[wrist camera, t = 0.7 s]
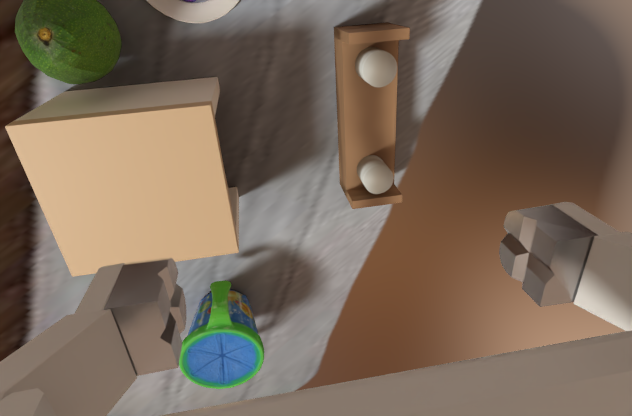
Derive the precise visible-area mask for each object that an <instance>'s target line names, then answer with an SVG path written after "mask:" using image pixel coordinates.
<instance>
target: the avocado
mask: <svg viewBox="0 0 632 416" xmlns="http://www.w3.org/2000/svg"><path fill="white" fill-rule="evenodd" d="M15 33H16V36H17V39H18V41H19V44H20V46H21V48H22V51H23V52H24V53H25V55H26V56H27V58H28V59H29V60H30V62H31V63H32V64H33V65H34V66H35V67H36V68H38V69H39V70H41V71H42V72H43V73H45V74H46V75H47V76H50V77H52V78H55V79H58V80H60V81H63V82H66V83H69V84H83V83H88V82H93V81H96V80H98V79H100V78H102V77H103V76H105V75H106V74H108V73H109V72H110V71H112V69H113V68H114V66H115V64H116V62H117V61H118V59H119V55H120V50H121V37H120V33H119V30H118V28H117V25H116V22H115V21H114V20H113V18H112V17H111V16H110V14H109V13H108V11H107V10H106V9H105V7H104V6H103V5H101V4H100V3H99V2H98V1H97V0H24V1H23V3H22V5H21V7H20V8H19V10H18V13H17V16H16V21H15Z"/></svg>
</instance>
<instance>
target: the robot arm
mask: <svg viewBox="0 0 632 416" xmlns="http://www.w3.org/2000/svg"><path fill="white" fill-rule="evenodd" d="M504 228H505V229H506V231H507V232H508V234H507V235H506V236H505V237H504V239H503V240H502V241H501V244H500V251H499V254H500V259H501V263H502V266H503V267H504V269H505V271H506V272H507V273H508V274H509V275H510V276H511V277H512V278H514V279H517V280H519V281H522V282H523V286H522V289H523V290H524V291H525V292H526V293H527V294H528V295H529V296H530V297H531V298H532V299H533V300H534V301H535V302H536V303H537V304H538V305H539V306H540V307H542V306H549V305H556V304H563V303H570V302H574V304H575V305H577V306H579V307H581V308H583V309H585V310H587V311H589V312H591V313H593V314H594V315H596V316H598V317H600V318H602V319H604V320H606V321H608V322H610V323H612V324H614V325H616V326H617V327H619V328H621V329H623V330H625V332H620V333H614V334H608V335H603V336H598V337H592V338H586V339H581V340H575V341H570V342H564V343H559V344H553V345H547V346H542V347H536V348H531V349H525V350H520V351H514V352H509V353H503V354H498V355H492V356H487V357H481V358H476V359H470V360H464V361H459V362H453V363H448V364H443V365H437V366H431V367H426V368H421V369H415V370H410V371H404V372H399V373H394V374H388V375H382V376H377V377H371V378H366V379H360V380H355V381H349V382H344V383H338V384H333V385H327V386H322V387H316V388H311V389H305V390H299V391H294V392H288V393H283V394H277V395H272V396H266V397H261V398H255V399H250V400H244V401H238V402H233V403H227V404H222V405H216V406H211V407H205V408H200V409H194V410H189V411H183V412H178V413H172V414H166V415H161V416H632V233H630V232H622V233H621V232H619V231H617V230H616V229H614V228H613V227H611V226H609V225H608V224H606V223H604V222H603V221H601V220H599V219H598V218H596V217H595V216H593V215H591V214H590V213H588V212H587V211H585V210H583V209H582V208H580V207H578V206H577V205H575V204H573V203H569V202H563V203H558V204H552V205H547V206H541V207H535V208H528V209H523V210H516V211H510V212H509V213H508V215H507V216H506V218H505V222H504ZM177 276H178V271H177V267H176V264H175V261H174V260H173V259H172V258H163V259H155V260H147V261H138V262H130V263H120V264H114V265H107V266H103V267H100V268H99V269H98V271H97V273H96V275H95V277H94V278H93V280H92V282H91V284H90V286H89V288H88V290H87V292H86V293H85V295H84V297H83V299H82V301H81V303H80V305H79V306H78V308H77V310H76V312H75V314H73V315H67V316H65V317H64V318H62V319H61V320H60V321H58V322H57V323H55V324H54V325H52V326H51V327H50V328H48V329H47V330H45V331H44V332H42V333H41V334H40V335H38V336H37V337H35V338H34V339H32V340H31V341H30V342H28V343H27V344H25V345H24V346H22V347H21V348H20V349H18V350H17V351H15V352H14V353H12V354H11V355H10V356H8V357H7V358H5V359H4V360H2V361H1V362H0V416H106V415H107V414H108V413H109V412H110V410H111V409H112V408H113V407H114V405H115V404H116V403H117V402H118V401H119V399H120V398H121V397H122V396H123V394H124V393H125V392H126V391H127V390H128V388H129V387H130V386H131V385H132V383H133V382H134V381H135V380H136V379H137V376H138V375H143V374H149V373H154V372H159V371H164V370H169V369H174V368H178V366H179V360H180V354H181V349H182V341H181V337H180V333H181V332H182V331H183V330H184V329H185V325H186V302H185V296H184V293H183V289H182V288H181V287H180V286H178V285H177V284H176V281H177Z"/></svg>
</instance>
